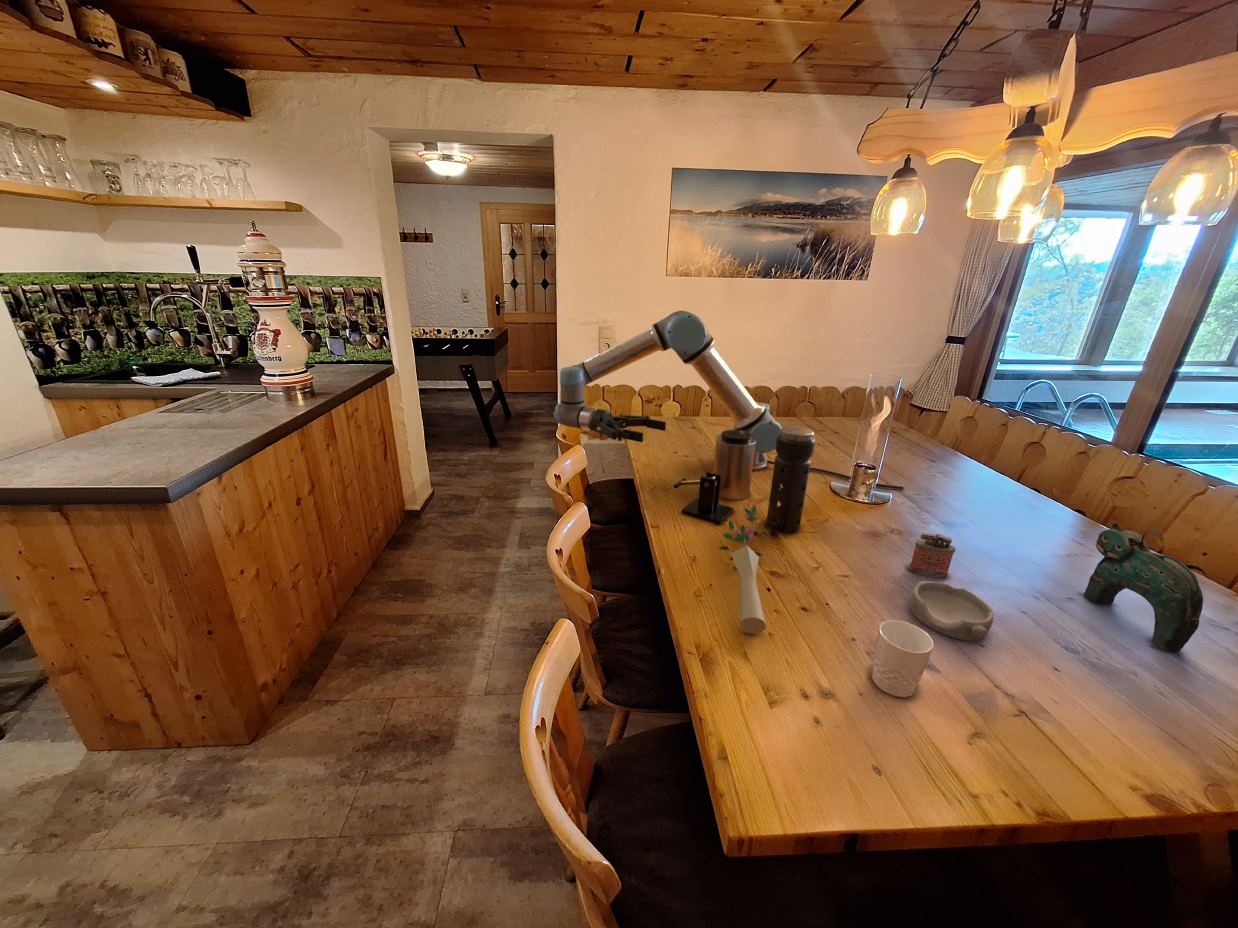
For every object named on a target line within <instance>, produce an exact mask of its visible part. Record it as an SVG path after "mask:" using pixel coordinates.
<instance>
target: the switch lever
mask: <svg viewBox="0 0 1238 928" xmlns="http://www.w3.org/2000/svg"><path fill="white" fill-rule="evenodd" d="M709 478H713V479H716V476H711V477H709ZM695 485H698V486H699V485H700V479H697V480H696V479H694V480H687V478H686V477H683V478H682V479H680V480H679V481H677V482H676V483H674V484H673V486H672V487H673V489H675V490H677V489H679V488H680V487H681V486H695ZM716 485H717V480H716Z"/></svg>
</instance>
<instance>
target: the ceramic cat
mask: <svg viewBox="0 0 1238 928" xmlns="http://www.w3.org/2000/svg"><path fill="white" fill-rule="evenodd" d="M1150 531H1152V532H1154V533H1155V534H1156V535H1157V537H1158V538H1159V539H1160V541H1161V542H1162V541H1163V540H1164V537H1163V535H1162V533H1160V531H1158V530H1157V529H1155V528H1147V529H1146V530H1145V531H1144V532H1143V535H1141V534H1140V533H1138V532H1136V531H1132V530H1124V529H1123V528H1121V526H1120V525H1119V524H1118V523H1116V522H1115V523H1113V524H1112V525H1111V526H1110V527H1109V528H1108V529H1105V530H1102V531H1101V532H1100V533H1099V535H1098V537H1097V540H1096V542H1095V543H1096V544H1095V548H1096V550H1097V552H1099V553H1100V555H1102V556H1104V557H1103V558H1102V559H1101V560H1099V562H1098V563H1097V565H1096V567H1095V568H1094V571H1093V573H1092V574H1091V575H1090V576H1089V580H1088V583H1087V586H1086V588H1085V590H1084V593H1083V596H1084V597H1086V598H1087V599H1089V600H1090V601H1091V602H1093V603H1095V604H1100V605H1113V604H1114V601H1115V599H1116V597H1117V595H1118V594H1119V593H1120V592H1123V590H1125V589H1126V590H1129V591H1132V592H1134V593H1135V594H1137V595H1139V596H1141V597H1142V598H1143V599H1145V601H1147V602H1148V603H1149V605H1150V606H1151V607H1152V609H1153V612H1154V614H1153V615H1154V625H1153V633H1152V638H1151V643H1152V644H1153V645H1154V646H1155V647H1157V648H1159V649H1161V650H1162V651H1164V652H1180V651H1181V650H1182V649H1183V648H1184V647H1185V645H1186V644H1187V643H1188V642H1189V641H1190V639H1191V638H1192V636H1193V635H1194V634H1195V633H1196V631H1197V630H1198V628H1199V626H1200V619H1201V614H1202V611H1203V606H1204V595H1203V592H1202V589H1201V587H1200V584H1199V581H1198V577H1197V576H1196V574H1195V573H1194V572H1193V571H1192V570H1191V569H1190V568H1189V567H1188V566H1187V565H1186V564H1184V563H1183V562H1181V561H1180V560H1178V559H1176V558H1174V557H1171V556H1168V555H1163V554H1160V553H1157V552H1153V551H1151V549H1150V547H1149V544H1148V543H1147V541H1146V539H1145V536H1146V534H1147V532H1150Z"/></svg>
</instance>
